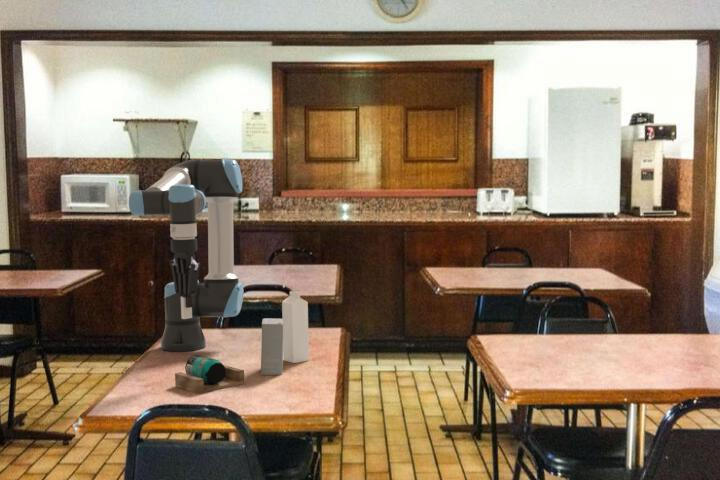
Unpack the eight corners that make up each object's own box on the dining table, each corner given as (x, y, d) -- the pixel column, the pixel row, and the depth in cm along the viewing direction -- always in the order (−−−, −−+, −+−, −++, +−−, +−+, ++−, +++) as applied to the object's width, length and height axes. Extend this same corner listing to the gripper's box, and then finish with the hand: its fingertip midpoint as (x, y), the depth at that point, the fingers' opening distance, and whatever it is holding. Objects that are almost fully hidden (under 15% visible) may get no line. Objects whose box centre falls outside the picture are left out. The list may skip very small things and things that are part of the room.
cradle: (175, 386, 246) (175, 373, 246) (221, 376, 257) (220, 364, 257) (198, 393, 238) (197, 380, 238) (244, 383, 249) (244, 370, 249)
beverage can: (208, 367, 256) (231, 374, 247) (191, 383, 252) (214, 390, 243) (197, 349, 253) (220, 355, 244) (179, 365, 249) (202, 371, 240)
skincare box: (261, 369, 266) (259, 318, 265) (284, 368, 267) (283, 317, 265) (260, 375, 258) (259, 322, 256) (284, 375, 258) (283, 322, 257)
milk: (293, 363, 274) (291, 294, 272) (283, 360, 278) (281, 292, 276) (309, 360, 277) (307, 292, 275) (299, 357, 282) (297, 290, 280)
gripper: (160, 237, 254) (163, 317, 257) (185, 240, 245) (188, 323, 247) (182, 235, 259) (185, 313, 262) (207, 238, 250) (210, 319, 253)
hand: (186, 318), depth 255 cm, fingers closed
